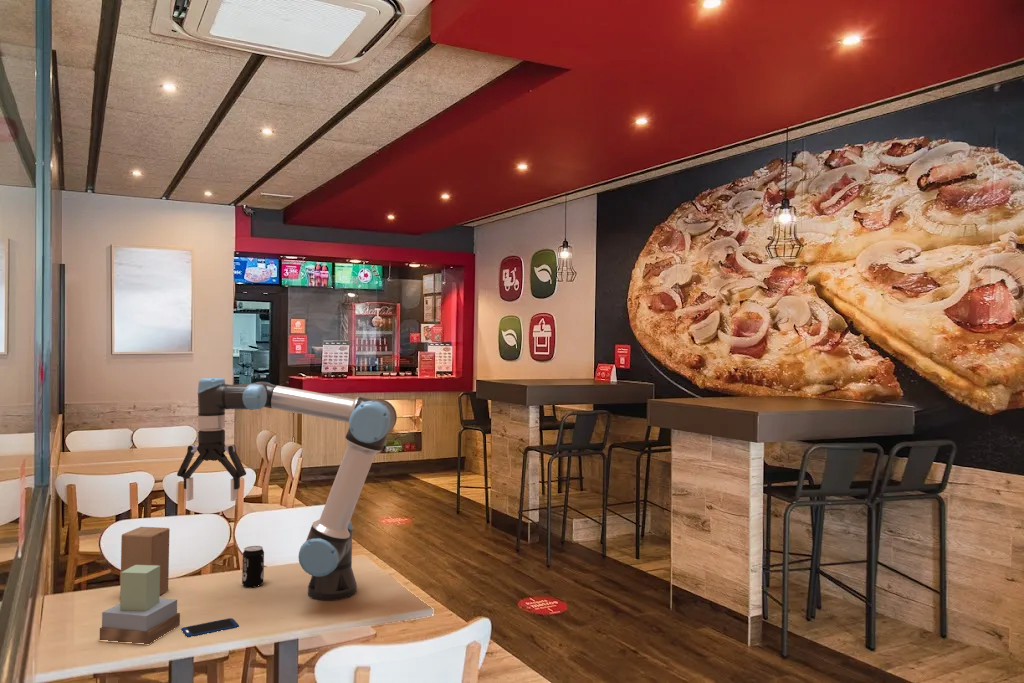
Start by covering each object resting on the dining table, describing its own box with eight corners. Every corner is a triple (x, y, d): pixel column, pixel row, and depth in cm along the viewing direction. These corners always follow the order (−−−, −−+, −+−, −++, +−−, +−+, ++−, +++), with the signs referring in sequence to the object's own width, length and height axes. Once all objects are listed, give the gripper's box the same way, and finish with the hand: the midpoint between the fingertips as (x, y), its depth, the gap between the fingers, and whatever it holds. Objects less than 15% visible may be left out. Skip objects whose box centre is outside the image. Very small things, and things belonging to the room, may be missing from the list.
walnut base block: (179, 627, 208) (179, 612, 208) (148, 647, 194) (149, 631, 194) (133, 624, 209) (133, 609, 209) (99, 643, 195) (99, 628, 195)
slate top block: (177, 613, 207) (177, 599, 207) (146, 631, 194) (146, 616, 194) (135, 610, 209) (135, 596, 209) (101, 627, 196) (102, 612, 196)
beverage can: (259, 588, 240) (260, 551, 240) (238, 587, 240) (239, 550, 240) (266, 581, 246) (267, 545, 246) (246, 581, 246) (247, 545, 246)
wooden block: (168, 590, 236) (170, 527, 236) (150, 601, 226) (151, 535, 226) (139, 589, 237) (140, 526, 237) (119, 599, 227) (120, 534, 227)
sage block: (159, 602, 204) (160, 565, 204) (145, 611, 197) (146, 573, 197) (134, 601, 205) (135, 564, 205) (119, 610, 198) (120, 572, 198)
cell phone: (180, 630, 205) (180, 627, 205) (232, 620, 213) (232, 617, 213) (186, 639, 199) (186, 636, 199) (239, 628, 207) (240, 625, 207)
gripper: (257, 428, 227) (257, 497, 227) (177, 427, 228) (177, 497, 228) (246, 430, 219) (247, 502, 219) (164, 430, 221) (165, 502, 221)
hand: (211, 500), depth 224 cm, fingers open, 13 cm apart
